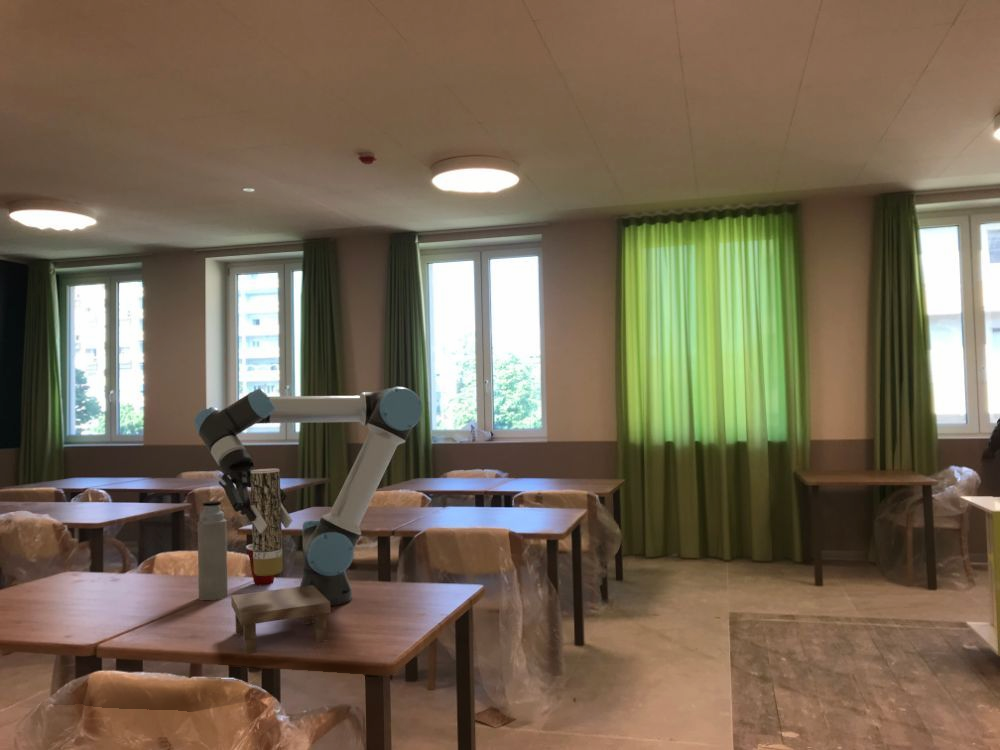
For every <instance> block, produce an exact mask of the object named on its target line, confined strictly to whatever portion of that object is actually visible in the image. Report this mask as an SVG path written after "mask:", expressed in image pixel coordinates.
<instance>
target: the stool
mask: <svg viewBox="0 0 1000 750" xmlns="http://www.w3.org/2000/svg"><path fill="white" fill-rule="evenodd" d="M230 598H231V599H230V600H231V602H230V603H231V608H232V609H233V611H234V614H235V615H234V616H235V619H234V620H235V635H236V636H239V635H238V634H241V635H243V653H244V655H247V654H253V652H254V653H257V629H256V626H257V624H261V623H262V624H263V623H270V622H276V621H277V622H278V621H282V620H283V621H284V620H291V619H297V618H300V619H301V620H300V621H301V622H302V623H301V622H300V623H301V624H302V626H306V625H305V624H307V625H311V624H310V623H313V627H314V628H313V630H314V634H313V635H314V638H313V639H314V641H315V642H316V643H321V642H320V641H322V642H326V641H325V640H327V641H328V638H327V637H328V636H327V635H328V631H327V630H328V629H327V614H330V613H331V606H330V602H329V601H328V600H327V599H326V598H325V597H324V596H323V595H322V594H321V593H320V592H319V591H318V590H317V589H316V588H315V587H314V586H313V585H309V586H301V587H300V586H295V587H293V586H292V587H286V588H285V587H284V588H278V589H271V590H263V591H256V592H248V593H247V592H246V593H242V594H232V595H231V597H230Z"/></svg>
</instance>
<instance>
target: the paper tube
mask: <svg viewBox="0 0 1000 750" xmlns="http://www.w3.org/2000/svg"><path fill="white" fill-rule="evenodd" d="M256 469H257V468H256ZM250 477H251V487H250V504H251V505H250V507H251V506H252V505H254V506H255V507H256V508H257V510H258V511H259V513H260V515H261V516H262V518H263V519H264V521H265V523H266V524H267V527H266V528H265V530H264V531H263V533H259V531H258V530H257V528H256V527H255V525H254V523H253V522H251V533H252V535H251V536H252V537H251V538H252V544H253V564H254V574H255V575H258V576H270V575H274V576H275V575H278V574H280V573H282V572H283V570H284V564H283V560H284V559H283V557H284V556H283V534H282V533H283V532H282V531H283V529H282V528H283V524H282V522H281V496H280V488H281V472H280V468H259V469H257V470H251V473H250Z"/></svg>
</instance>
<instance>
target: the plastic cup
mask: <svg viewBox="0 0 1000 750" xmlns="http://www.w3.org/2000/svg"><path fill="white" fill-rule="evenodd" d="M245 548H246V550H247V554H248V558H249V564H250V570H251V575H252V579H253V585H255V586H267V584H268V585H271V583H272V584H273V583H274V581H275V575H270V576H258V575H255V574H254V564H253V543H250V544H248V545H245Z"/></svg>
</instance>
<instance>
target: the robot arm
mask: <svg viewBox="0 0 1000 750" xmlns="http://www.w3.org/2000/svg"><path fill="white" fill-rule="evenodd" d="M422 414H423V405H422V401H421V399H420V397H419V396H418V394H417V393H416V392H414V391H413V390H412V389H409V388H407V387H405V386H394V387H391V388H386V389H381V390H378V391H377V390H376V391H364V392H363V391H362V392H361V393H360V394H359V395H306V396H305V395H302V396H301V395H299V396H298V395H297V396H296V395H295V396H294V395H292V396H291V395H289V396H287V395H285V396H282V395H281V396H268V395H267V393H266V392H265V391H264V390H263V389H262V388H257V389H255V390H253V391H250V392H249V393H248V394H246V395H245V396H243V397H241V398H239V399H237V400H236V401H235V402H233V403H231V404H230V405H229V406H227V407H225V408H223V409H221V410H220V408H218V407H216V406H215V407H214V406H211V407H209V408H204V409H202V410H201V411H199V412H198V413H197V415H195V417H194V420H193V425H194V428H195V429H196V431H197V433H198V436H199V437H200V439H201V441H202V442H203V443H204V445H205V447H206V448H207V449H208V451H209V452H210V454H211V456H212V457H213V459H214V461H215V462H216V464H217V465H218V466H219V469H220V470H221V472H222V476H221V478H220V479H219V481H218V484H219V485H220V487H222V489H223V490H224V491H225V494H226V497H227V498H228V500H229V503H230V504H231V507H232V508H233V511H234V512H237V513H238V512H239V511H240V512H239V514H241V515H242V516H243V515H246V518H247V519H248V521H250V522H251V523H252V522H253V523H254V525H255V527H256V528H257V530H258V531H259V533H263V531H264V530H265V528H266V527H267V524H266V523H265V521H264V519H263V518H262V516H261V515H260V513H259V511H258V510H257V508H256V507H255V506H254V505H252V506H251V498H250V494H249V491H248V488H251V477H250V473H251V470H257V468H256V467H255V466H254V461H253V459H252V456H250V454H249V453H248V451H247V450H246V447H245V446H244V445H243V443H242V442H241V440H240V439H239V438H238V435H239V434H241V433H243V432H244V431H246V430H247V429H249V428H250V427H252V426H254V425H256V424H260V425H261V424H291V423H292V424H295V423H297V424H299V423H300V424H302V423H305V424H306V423H308V424H309V423H356V422H357V423H360V425H362V426H367V428H368V429H367V430H368V434H367V437H366V439H365V440H364V442H363V444H362V447H361V449H360V450H359V452H358V454H357V457H356V459H355V460H354V463H353V465H352V467H351V468H350V471H349V473H348V474H347V477H346V479H345V481H344V484H343V486H342V487H341V490H340V491H339V494H338V495H337V498H336V499H335V501H334V503H333V506H332V508H331V510H330V512H328V513H326V514H323V515H321V518H320V519H314V520H305V521H304V522H302V523H303V524H302V530H301V534H302V563H303V575H302V579H301V582H300V586H299V587H301V586H309V585H313V586H314V587H315V588H316V589H317V590H318V591H319V592H320V593H321V594H322V595H323V596H324V597H325V598H326V599H327V600H328V601H329V602H330V607H335V606H339V604H340V605H344V604H347V603H349V602H350V601H352V599H353V590H352V587H351V584H350V582H349V578H348V575H347V573H346V570H347V569H348V568H349V567H350V566H351V564H352V562H353V559H354V556H355V555H354V554H355V548H356V546H357V545H358V542H359V540H360V537H361V535H362V531H361V528H360V526H361V525H360V524H361V523H362V521H363V518H364V516H365V514H366V512H367V510H368V508H369V506H370V503H371V501H372V499H373V497H374V495H375V493H376V491H377V489H378V487H379V485H380V484H381V483H380V482H381V481H382V478H383V477H384V474H385V473H386V470H387V468H388V466H389V464H390V462H391V460H392V458H393V455H394V454H395V451H396V449H397V447H398V446H399V445H401V444H405V443H406V441H407V439H408V437H409V436H410V433H411V431H412V429H413V428H414V427H415V426H417V424H418V423H419V422H420V420H421V419H422V416H423V415H422ZM280 496H281V525H282V526H283V527H284V528H285V529H287V528H289V527H290V525H291V524H292V522H293V521H294V520H293V518H292V517H291V515H290V514H289V513H288V512H289V510H288V508H287V507H286V505H285V503H284V502H285V500H286V499H287V495H286V493H285V492H284V491H283V489H282V487H280ZM334 605H335V606H334Z"/></svg>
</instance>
